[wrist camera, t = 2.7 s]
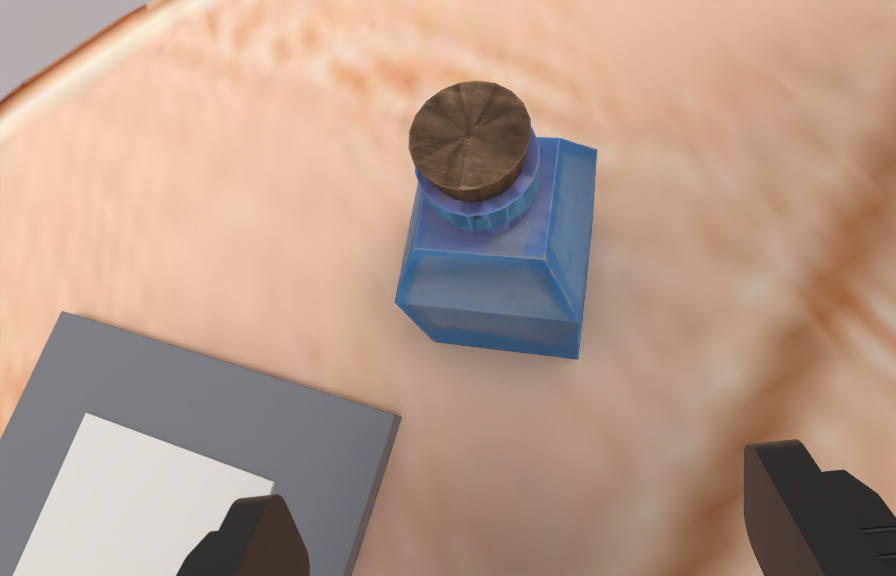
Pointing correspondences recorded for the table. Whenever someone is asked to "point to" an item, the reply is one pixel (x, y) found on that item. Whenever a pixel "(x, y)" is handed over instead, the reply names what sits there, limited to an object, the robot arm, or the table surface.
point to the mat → (173, 457)
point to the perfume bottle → (496, 226)
